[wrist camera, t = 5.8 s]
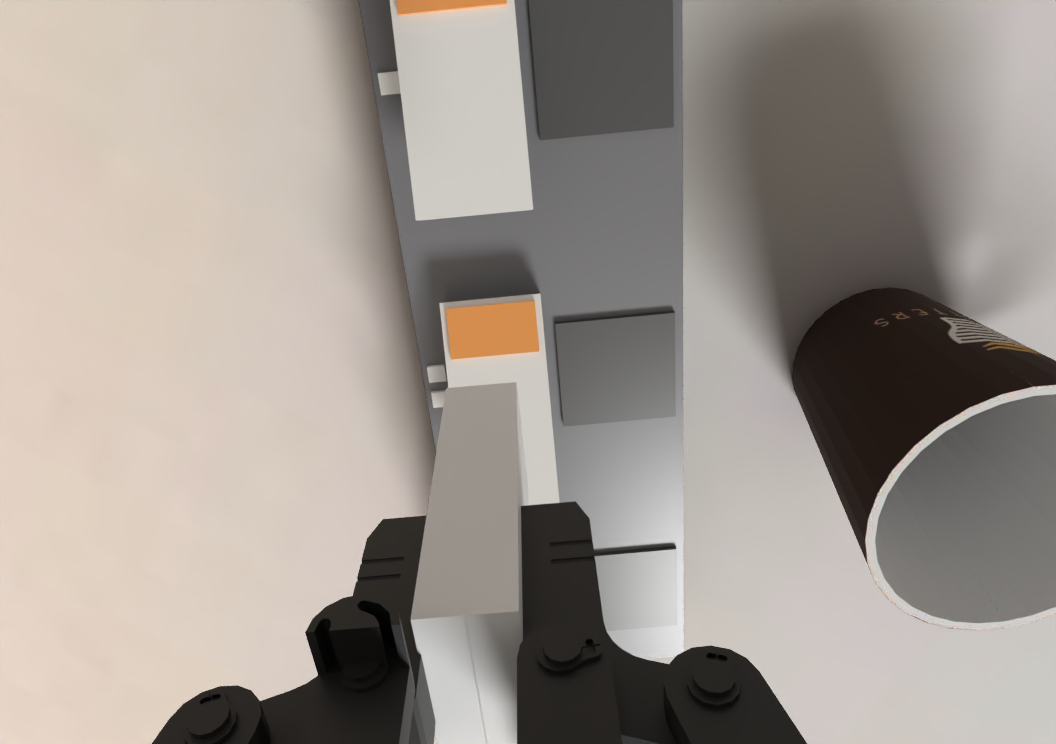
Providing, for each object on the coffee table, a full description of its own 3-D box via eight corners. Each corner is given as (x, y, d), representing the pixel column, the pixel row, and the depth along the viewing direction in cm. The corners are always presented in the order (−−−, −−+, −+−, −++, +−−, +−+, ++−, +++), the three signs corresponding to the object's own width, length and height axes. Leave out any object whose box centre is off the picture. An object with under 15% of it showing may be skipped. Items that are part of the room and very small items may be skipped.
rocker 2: (443, 302, 26) (438, 303, 25) (540, 293, 26) (540, 293, 25) (465, 507, 27) (461, 519, 25) (559, 499, 27) (560, 510, 25)
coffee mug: (719, 381, 32) (803, 542, 23) (884, 213, 29) (1055, 322, 20) (907, 521, 35) (1044, 709, 26) (1072, 384, 32) (1290, 543, 23)
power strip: (367, -67, 24) (339, -75, 20) (659, -97, 24) (688, -111, 20) (495, 730, 40) (494, 811, 37) (670, 716, 40) (687, 796, 36)
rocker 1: (391, -44, 21) (381, -61, 20) (509, -56, 21) (507, -74, 20) (421, 220, 22) (415, 220, 21) (533, 209, 22) (533, 208, 21)
